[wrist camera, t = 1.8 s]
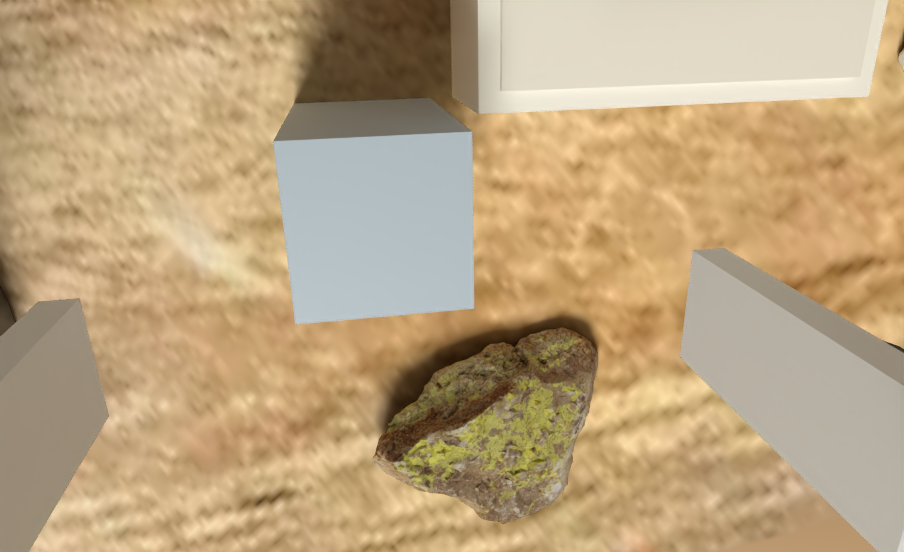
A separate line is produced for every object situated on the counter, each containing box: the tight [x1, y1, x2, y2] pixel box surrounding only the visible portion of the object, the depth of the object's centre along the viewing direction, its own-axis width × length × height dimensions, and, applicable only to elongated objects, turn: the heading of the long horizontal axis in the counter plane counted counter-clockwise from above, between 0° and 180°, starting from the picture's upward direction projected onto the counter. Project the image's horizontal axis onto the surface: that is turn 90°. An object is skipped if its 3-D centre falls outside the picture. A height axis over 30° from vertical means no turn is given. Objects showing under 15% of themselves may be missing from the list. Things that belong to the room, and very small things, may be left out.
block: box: [273, 98, 474, 324], centre depth 25 cm, size 6×6×10 cm
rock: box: [373, 328, 598, 524], centre depth 35 cm, size 12×7×10 cm
